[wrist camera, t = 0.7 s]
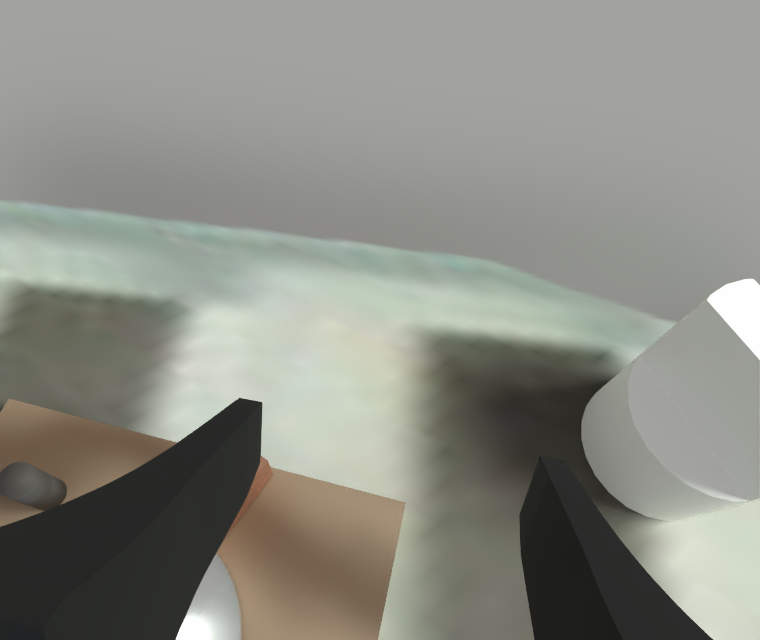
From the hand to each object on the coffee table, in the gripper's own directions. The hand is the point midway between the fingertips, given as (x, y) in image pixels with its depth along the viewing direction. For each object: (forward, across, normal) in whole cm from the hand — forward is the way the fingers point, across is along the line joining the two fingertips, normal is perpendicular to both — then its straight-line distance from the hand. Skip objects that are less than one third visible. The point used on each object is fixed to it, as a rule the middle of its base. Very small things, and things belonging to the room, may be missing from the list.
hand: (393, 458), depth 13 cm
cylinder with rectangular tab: (+18, -16, +11) cm, 26 cm away
